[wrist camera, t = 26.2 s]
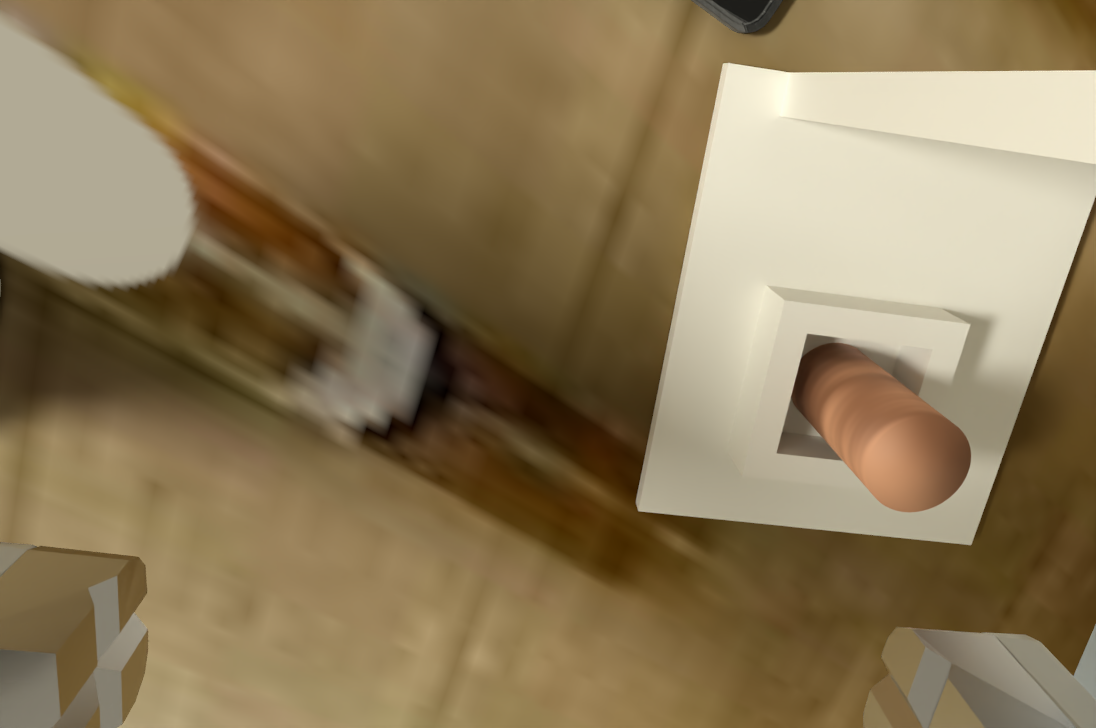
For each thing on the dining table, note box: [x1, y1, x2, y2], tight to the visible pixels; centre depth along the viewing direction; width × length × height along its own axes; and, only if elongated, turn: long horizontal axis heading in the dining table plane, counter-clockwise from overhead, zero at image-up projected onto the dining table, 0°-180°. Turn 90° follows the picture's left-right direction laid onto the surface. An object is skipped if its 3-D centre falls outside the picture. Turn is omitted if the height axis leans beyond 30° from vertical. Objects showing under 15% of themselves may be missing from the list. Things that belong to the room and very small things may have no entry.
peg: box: [791, 343, 971, 512], centre depth 39 cm, size 4×4×10 cm
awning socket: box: [636, 63, 1096, 700], centre depth 30 cm, size 20×24×30 cm
